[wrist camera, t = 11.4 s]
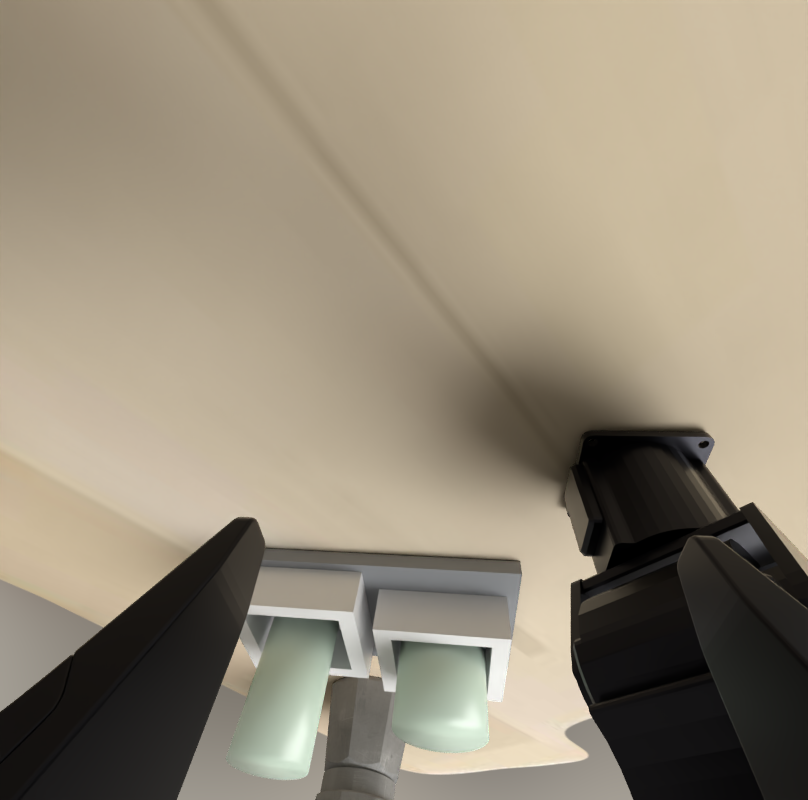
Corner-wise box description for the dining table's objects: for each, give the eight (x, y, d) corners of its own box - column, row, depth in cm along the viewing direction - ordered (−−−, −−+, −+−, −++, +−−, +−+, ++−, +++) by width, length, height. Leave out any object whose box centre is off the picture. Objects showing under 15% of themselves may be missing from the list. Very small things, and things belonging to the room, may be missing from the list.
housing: (519, 561, 29) (539, 689, 22) (506, 654, 36) (518, 772, 29) (239, 547, 32) (181, 658, 25) (278, 636, 39) (240, 741, 32)
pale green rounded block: (322, 582, 31) (278, 748, 23) (353, 617, 34) (323, 778, 25) (268, 593, 33) (209, 753, 24) (301, 625, 35) (257, 781, 27)
